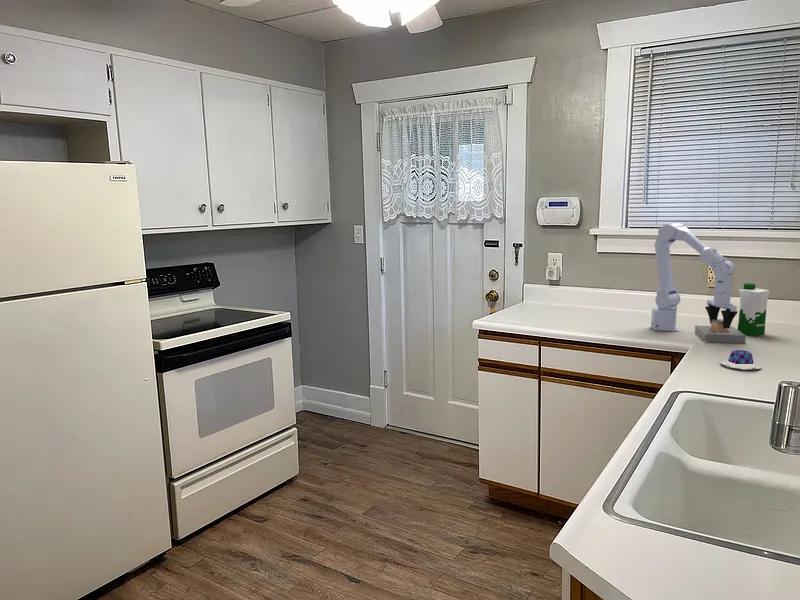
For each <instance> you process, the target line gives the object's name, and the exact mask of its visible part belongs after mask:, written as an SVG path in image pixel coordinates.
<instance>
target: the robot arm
mask: <svg viewBox="0 0 800 600" xmlns="http://www.w3.org/2000/svg"><path fill="white" fill-rule="evenodd" d="M657 232H658V233H657V236H656V239H655V243H654V248H655V249H654V250H655V258H656V267H657V275H658V284H659V286H658V288H657V290H656V297H655V301H654V302H655V304H656V306H657V307H654V308H652V310H651V319H650V322H651V323H650V327H651V328H652V330H653V331H659V332H660V331H665V332H666V331H667V332H672V331H673V332H679V329H678V328H677V327H676V326H677V313H678V309H677V308H678V305H679V304H680V303H681V295H680V294H679V292H678V288H677V287H676V285H675V284H674V278H673V277H674V276H673V275H674V274H673V268H672V260H671V259H672V257H671V250H670V247H671V245H673V244H674V243H675V241H681V242H682V241H683V242H685V243H686V244H687V245H689V247H691V248H692V249H694V250H695V251H696V252H698V253H699V259H701V260H702V261H703V262H704V263H706V264H707V265H708V266H709V267H710V268H711V269H712V271H713V274H714V275H715V280H714V289H713V299H706V306H705V310H706V312H707V314H708V318H709V319H708V320H709V324H710V325H711V322H712V320H717V319H719V318H718V316H719V313H720V312H721V316H722V320H723V328H724V329H727V328H730V326H731V325H732V322H733V321H734V319H735V317H736V315H737V314H738V311H737V310H738V306H737V305H734V304H733V303H731V293H732V283H733V282H732V281H733V274H734V272H735V271H736V265H735V263H734V262H733V261H732V260H729V259H727V257H726V256H723V255H721V254H720V253H719V252H718V249H717V248H715V247H714V248H713V247H712V246H711V247H710V246H706V245H705V244H704V243H703V242H702V241H701V240H700V239H698V237H696V235H694V234H693V232H692V231H691V230H690V229H689V228H688V227H687V226H685V225H684V224H683V223H681V222H676V223H665V224H663V225H662V226H660V228H658V231H657Z"/></svg>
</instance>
